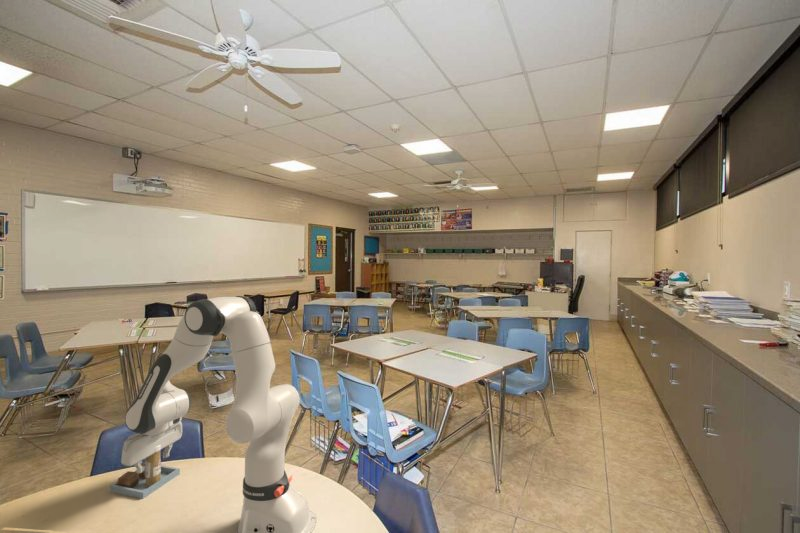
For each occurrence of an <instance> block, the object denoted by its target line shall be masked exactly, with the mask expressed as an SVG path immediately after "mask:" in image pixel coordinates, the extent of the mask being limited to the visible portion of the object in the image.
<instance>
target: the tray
mask: <svg viewBox="0 0 800 533" xmlns="http://www.w3.org/2000/svg"><path fill="white" fill-rule="evenodd" d="M134 472H136V470H134ZM180 473H181V468H178V467H172V466H166V465H162V464H161V476H160V477H161V480H159V481H158V482H156V483H155V484H153V485H152V486H150V487H146V486H145V484H146V479H145V480H144V479H142V478H141V477H139V484H137V485H136V486H135V487H133V488H128V487H123V486H118V480H117V481H115V482H114V483H112V484H111V485H109V492H110V493H115V494H120V495H124V496H128V497H132V498H137V499H145V498H147V497H149V495H151V494H152V493H153V492H155V491H157V490H158V489H160V488H161V487H163V486H164V485H166V484H167V483H169V482H170V481H172V480H173V479H175V478H176V477H177V476H180V475H181V474H180Z"/></svg>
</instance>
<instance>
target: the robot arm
mask: <svg viewBox="0 0 800 533" xmlns="http://www.w3.org/2000/svg"><path fill="white" fill-rule="evenodd" d="M219 334H222V335H225V337H227V339H228V341H229V346H230V351H231V355H232V361H233V366H234V371H235V376H236V377H235V378H236V386H235V387H236V389H235V395H234V399H233V402H232V406H231V409H230V410H229V413H228V414H227V416H226V418H225V425H224V426H225V431H226V433H227V434H226V435H228V437H229V439H230V440H231V441H233V442H234V443H237V444H240V445H242V444H247V443H249V444H248V446H247V449H246V451H245V454H244V477H243V479H242V480H243V481H242V495H243V501H242V502H243V504H242V510H241V514H240V519H239V522H238V525H237V533H309V532H310V531H311V530H312V528H313V526H314V524H315V522H316V523H317V520H316V518H317V513H316V512H314V511H313V510H310V509H309V508H310V507H309V504H308V503H309V502H308V501H307V498H306V497H304V496H303V495H302V494H301V493H300V492H299V491H298V490H296V489H295V488H294V487H293V486H292V485H291V484H290V483H291V481H292V480H293V475H290V476H289V478H288V475H287V473H286V470H285V460H286V459H285V458H286V457H285V456H286V455H285V454H286V446H287V440H288V436H289V432H290V428H291V424H292V421H293V418H294V416H295V413H296V412H297V410H298V408H299V406H300V404H301V398H300V393H299V392H298V390H297V389H296V387H295V386H293V385H291V384H290V383H289V384H287V383H286V384H279V385H278V384H277V385H275V386H272V387H271V380H272V376H273V374H274V372H275V370H276V361H275V357H274V351H273V347H272V343H271V340H270V335H269V332H268V330H267V327H266V325H265V323H264V320H263V317H262V316H261V315H260V314H259V313H258V312H257V306H256V304H255V302H254V301H253V300H252V299H251V298H249V297H247V296H242V295H237V296H218V297H217V296H216V297H209V298H207V299H206V298H203V299H198V300H196V301H194V302H192V303H190V304H189V305H188V306H187V307H186V310H185V311H184V313H183V315H182V316H181V319H180V320H179V323H178V325H177V327H176V330H175V332H174V336H173V338H172V339H171V342H170V343H169V345H168V346H167V347H166V349H165V350H164V351H163V353H162V354H160V355H159V356H158V357H157V358H156V359H155V361H154V363H153V364H152V365H151V368H150V369H149V372H148V373H147V376H146V377H145V379H144V381H143V383H141V387H140V389H139V391H138V394H137V395H136V397H135V399H134V400H133V401H132V402H131V404H130V405H129V406H128V409H127V410H126V412H125V417H124V422H125V426H126V428H127V429H128V430H129V431H131V432H133V434H131V435H129V436H127V437H128V438H127V439H126V440H125V441H124V442H123V446H122V451H121V459H120V460H121V461H120V462H121V464H122V465H123V466H126V467H133V466H134V467H135V468H136V470H135V471H136V472H137V473H139V474H140V473H142V472H143V471H145V469H144V468H145V466H142V465H141V464H142V463H143V460H146V458H147V457H148V456H150V455H152V454H154V452H155V448H156V447H157V446H159V445H161V450H163V449H164V450H163V452H161V458H162V459H167V458H169V457H170V452H171V450H172V448H173V445H174V443H175V442H177V441H179V440H180V439H181V438H182V436H183V422H182V419H183V417H184V416H185V415H187V414H188V413H189V412H190V409H191V404H192V397H191V394H190V393H189V392H188V391H187V390H185V389H183V388H178V387H177V386H175V385H173V384H172V383H171V382H170V380H171V379H172V378H173V377H175V376H176V375H178V374H180V373H181V372H183V371H184V370H186V369H188V368H190V367H192V366H194V365H196V364H198V363H200V362H201V361H202V360H203V359H204V358H205V357H206V356H207V355H208V352H209V350H210V348H211V345H212V342H213V339H214V337H217V336H218V335H219ZM312 519H314V520H313V521H312ZM315 525H316V524H315ZM312 531H313V530H312Z"/></svg>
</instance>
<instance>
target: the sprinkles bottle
mask: <svg viewBox="0 0 800 533" xmlns="http://www.w3.org/2000/svg"><path fill="white" fill-rule="evenodd" d="M161 451H162V449H161V445H159V446H157V447H156V448H155V452H154V454H152V455H150V456H148V457H147V458H145V462H146V470H145V476H146V484H145V486H146V487H150V486H152V485H153V484H155V483H156V482H158V481H159V480H161V477H160V476H161V465H162V459H161V458H162V452H161Z"/></svg>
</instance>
